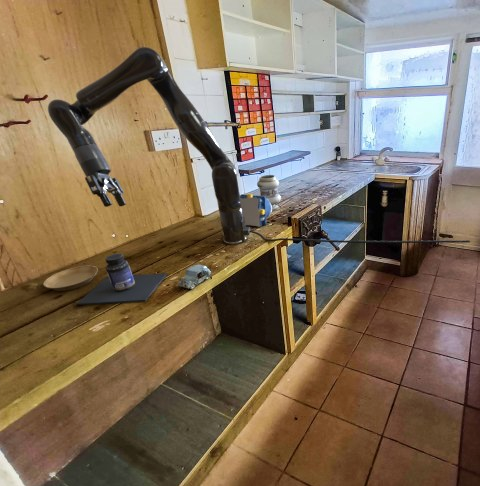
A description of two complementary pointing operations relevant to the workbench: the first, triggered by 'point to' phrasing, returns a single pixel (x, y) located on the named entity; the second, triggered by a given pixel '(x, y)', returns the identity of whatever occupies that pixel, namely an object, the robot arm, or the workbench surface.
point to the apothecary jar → (269, 189)
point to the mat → (135, 294)
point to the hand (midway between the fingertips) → (116, 205)
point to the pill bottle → (119, 272)
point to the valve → (255, 209)
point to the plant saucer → (71, 278)
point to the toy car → (194, 276)
